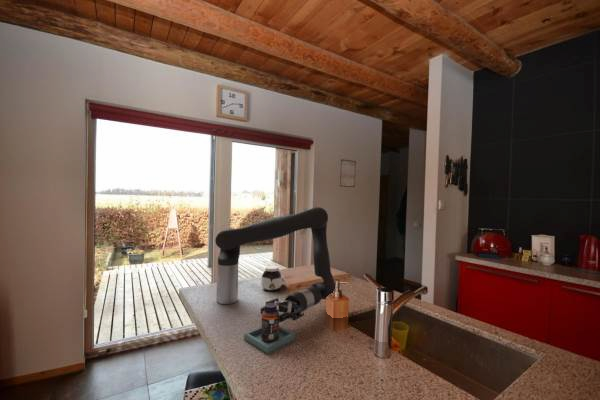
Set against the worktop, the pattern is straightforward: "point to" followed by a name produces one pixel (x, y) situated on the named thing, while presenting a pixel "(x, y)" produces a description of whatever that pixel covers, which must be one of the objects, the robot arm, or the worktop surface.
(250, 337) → the tray
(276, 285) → the spread jar
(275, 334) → the supplement bottle
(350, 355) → the worktop surface
